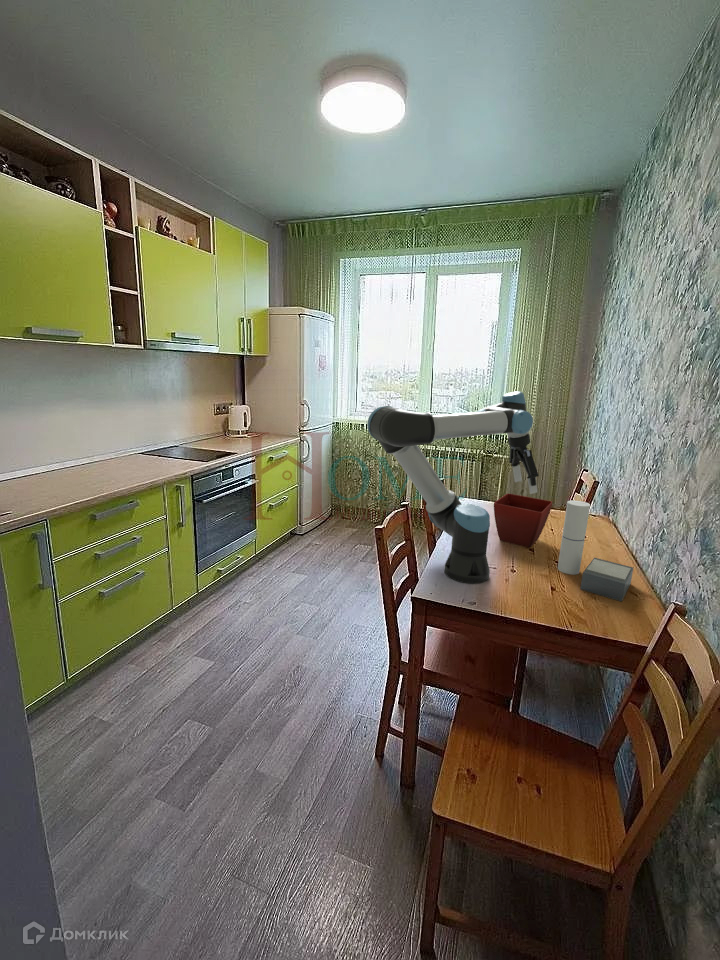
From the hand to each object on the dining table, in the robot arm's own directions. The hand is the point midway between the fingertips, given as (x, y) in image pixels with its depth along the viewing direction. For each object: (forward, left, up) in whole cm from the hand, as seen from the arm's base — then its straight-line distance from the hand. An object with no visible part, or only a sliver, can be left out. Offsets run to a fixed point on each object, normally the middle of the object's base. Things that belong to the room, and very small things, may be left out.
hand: (525, 486), depth 169 cm
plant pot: (+11, +4, -26) cm, 29 cm away
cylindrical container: (-6, -20, -26) cm, 34 cm away
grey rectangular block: (-11, -33, -26) cm, 44 cm away
